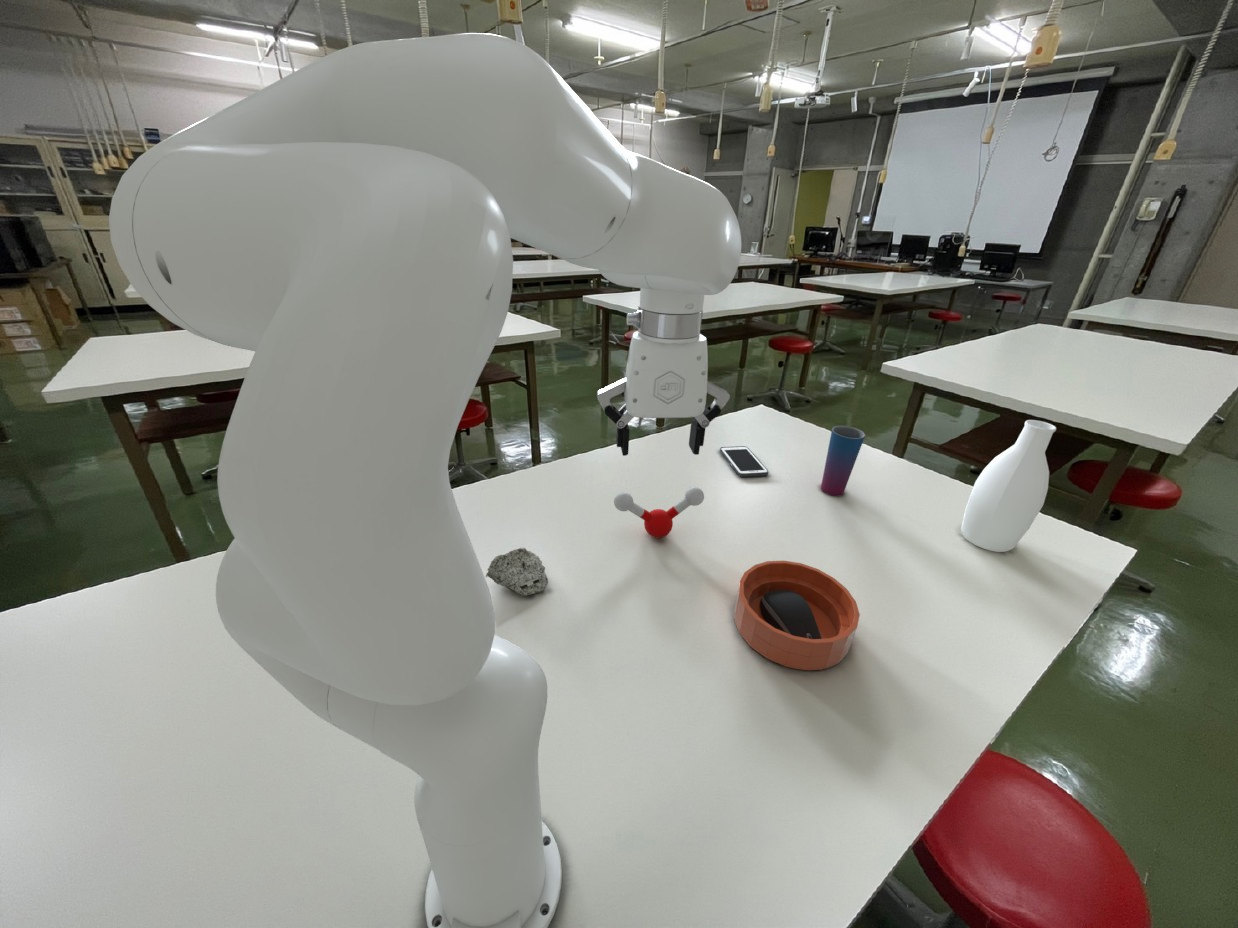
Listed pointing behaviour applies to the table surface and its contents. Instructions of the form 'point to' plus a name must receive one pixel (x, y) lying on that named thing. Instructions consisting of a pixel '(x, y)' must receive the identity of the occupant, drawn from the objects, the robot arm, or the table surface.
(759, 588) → the bowl
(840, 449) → the cup
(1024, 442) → the bottle
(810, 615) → the computer mouse
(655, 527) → the molecular model
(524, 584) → the rock sample
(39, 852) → the table surface
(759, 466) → the cell phone
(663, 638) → the table surface
